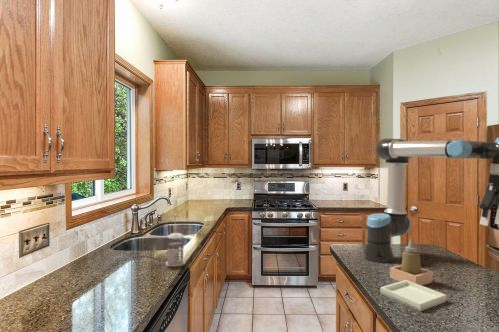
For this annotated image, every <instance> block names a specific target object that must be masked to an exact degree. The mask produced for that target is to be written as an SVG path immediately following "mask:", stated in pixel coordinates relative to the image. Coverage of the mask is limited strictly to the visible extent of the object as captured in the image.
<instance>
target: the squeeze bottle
mask: <svg viewBox="0 0 499 332" xmlns="http://www.w3.org/2000/svg"><path fill="white" fill-rule="evenodd" d="M408 241H409V242H408V245H406V246H405V248H404V250H405V251H403V252H402V257H401V258H402V259H401V264H400V265H401V271H404V272H406V273H409V274H412V275H418V274H422V272H421V268H422V266H421V265H422V262H421V255H420V254H421V253H419V252H418V247H416V246H415V243H414V239H412V238H409V240H408Z"/></svg>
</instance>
